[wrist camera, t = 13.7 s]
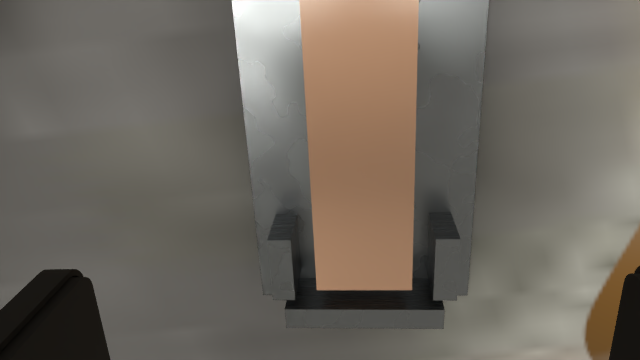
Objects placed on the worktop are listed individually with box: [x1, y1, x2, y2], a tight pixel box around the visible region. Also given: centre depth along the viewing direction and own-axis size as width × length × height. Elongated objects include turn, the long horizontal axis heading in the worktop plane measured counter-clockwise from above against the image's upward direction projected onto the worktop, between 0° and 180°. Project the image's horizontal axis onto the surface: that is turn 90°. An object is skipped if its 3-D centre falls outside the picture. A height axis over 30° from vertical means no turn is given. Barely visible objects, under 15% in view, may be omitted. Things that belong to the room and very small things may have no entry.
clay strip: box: [299, 0, 419, 290], centre depth 21 cm, size 4×14×3 cm, turn 3°
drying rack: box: [232, 0, 489, 329], centre depth 21 cm, size 19×10×4 cm, turn 3°
